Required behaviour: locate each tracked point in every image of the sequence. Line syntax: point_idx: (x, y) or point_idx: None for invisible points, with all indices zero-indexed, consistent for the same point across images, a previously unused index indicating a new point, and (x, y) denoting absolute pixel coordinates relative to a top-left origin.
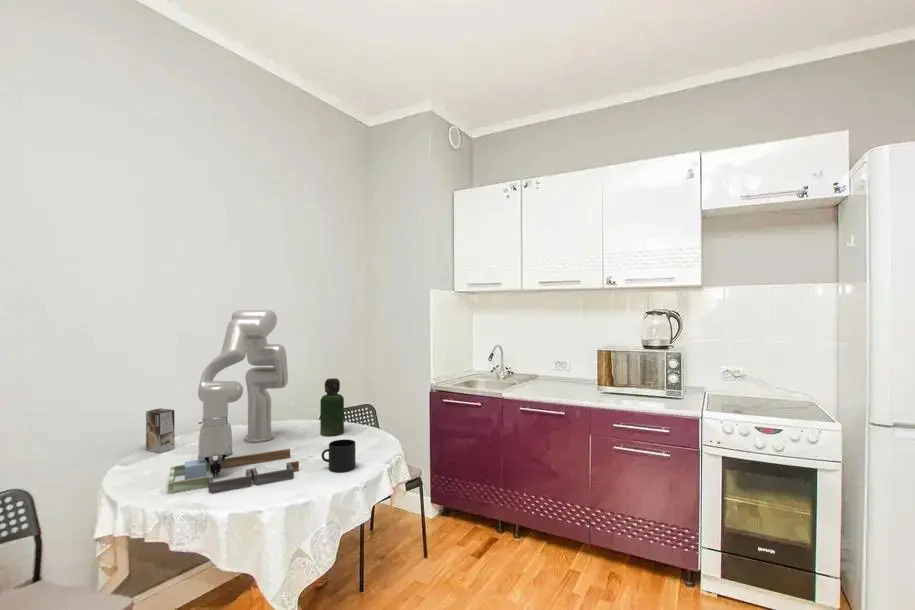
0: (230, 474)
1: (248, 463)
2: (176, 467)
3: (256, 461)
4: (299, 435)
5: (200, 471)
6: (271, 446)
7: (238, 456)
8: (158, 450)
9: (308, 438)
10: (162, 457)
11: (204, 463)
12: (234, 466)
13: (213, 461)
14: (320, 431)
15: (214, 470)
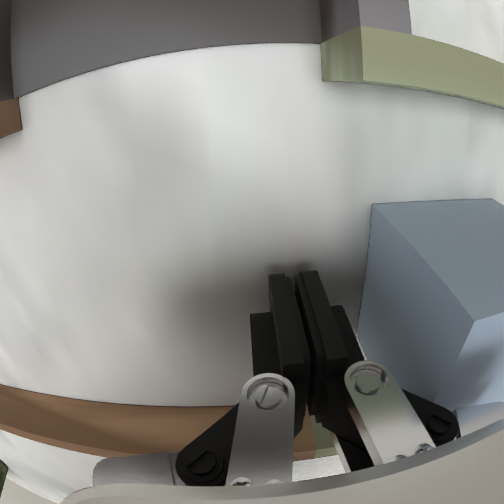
0: (168, 301)
1: (95, 407)
2: None
3: (59, 405)
4: (52, 484)
5: (474, 254)
6: (89, 479)
7: None
8: None
9: (16, 463)
10: None
11: (477, 342)
12: (169, 408)
13: (354, 399)
14: (2, 469)
15: (316, 307)
